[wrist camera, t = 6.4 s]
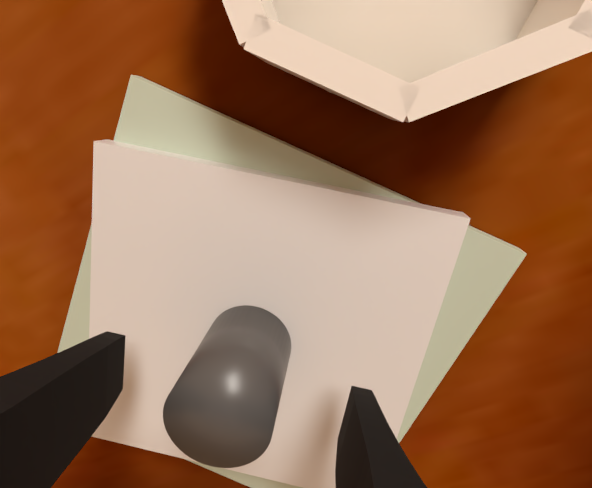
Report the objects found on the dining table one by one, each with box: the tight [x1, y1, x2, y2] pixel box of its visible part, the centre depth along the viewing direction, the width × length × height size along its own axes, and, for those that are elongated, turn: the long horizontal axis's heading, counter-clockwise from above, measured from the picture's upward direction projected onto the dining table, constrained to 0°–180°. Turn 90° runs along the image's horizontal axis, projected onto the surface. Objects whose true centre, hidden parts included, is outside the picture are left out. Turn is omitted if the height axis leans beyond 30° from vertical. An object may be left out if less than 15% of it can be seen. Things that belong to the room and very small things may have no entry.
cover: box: [89, 139, 470, 488], centre depth 13 cm, size 12×12×5 cm
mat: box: [58, 75, 527, 488], centre depth 16 cm, size 14×14×1 cm
